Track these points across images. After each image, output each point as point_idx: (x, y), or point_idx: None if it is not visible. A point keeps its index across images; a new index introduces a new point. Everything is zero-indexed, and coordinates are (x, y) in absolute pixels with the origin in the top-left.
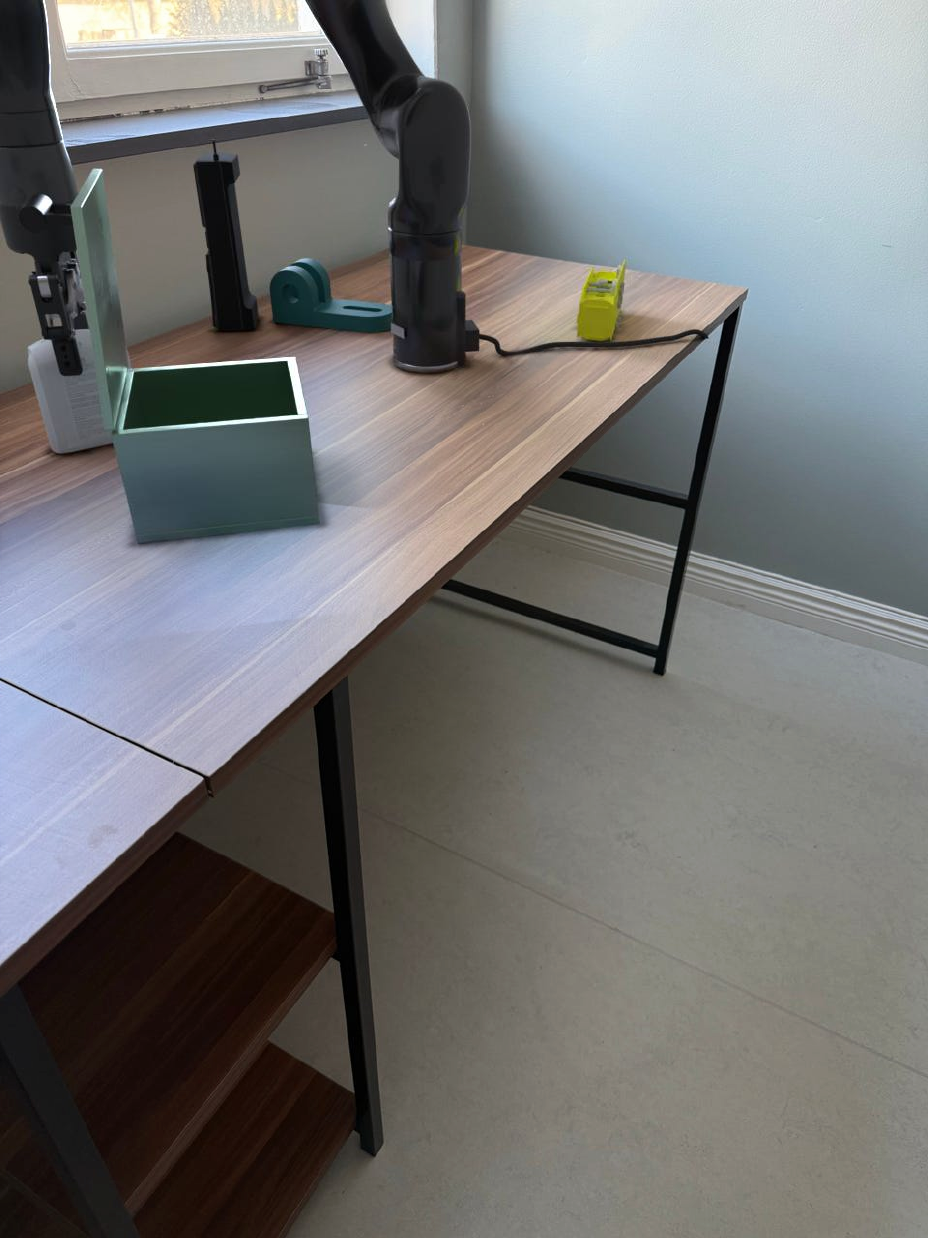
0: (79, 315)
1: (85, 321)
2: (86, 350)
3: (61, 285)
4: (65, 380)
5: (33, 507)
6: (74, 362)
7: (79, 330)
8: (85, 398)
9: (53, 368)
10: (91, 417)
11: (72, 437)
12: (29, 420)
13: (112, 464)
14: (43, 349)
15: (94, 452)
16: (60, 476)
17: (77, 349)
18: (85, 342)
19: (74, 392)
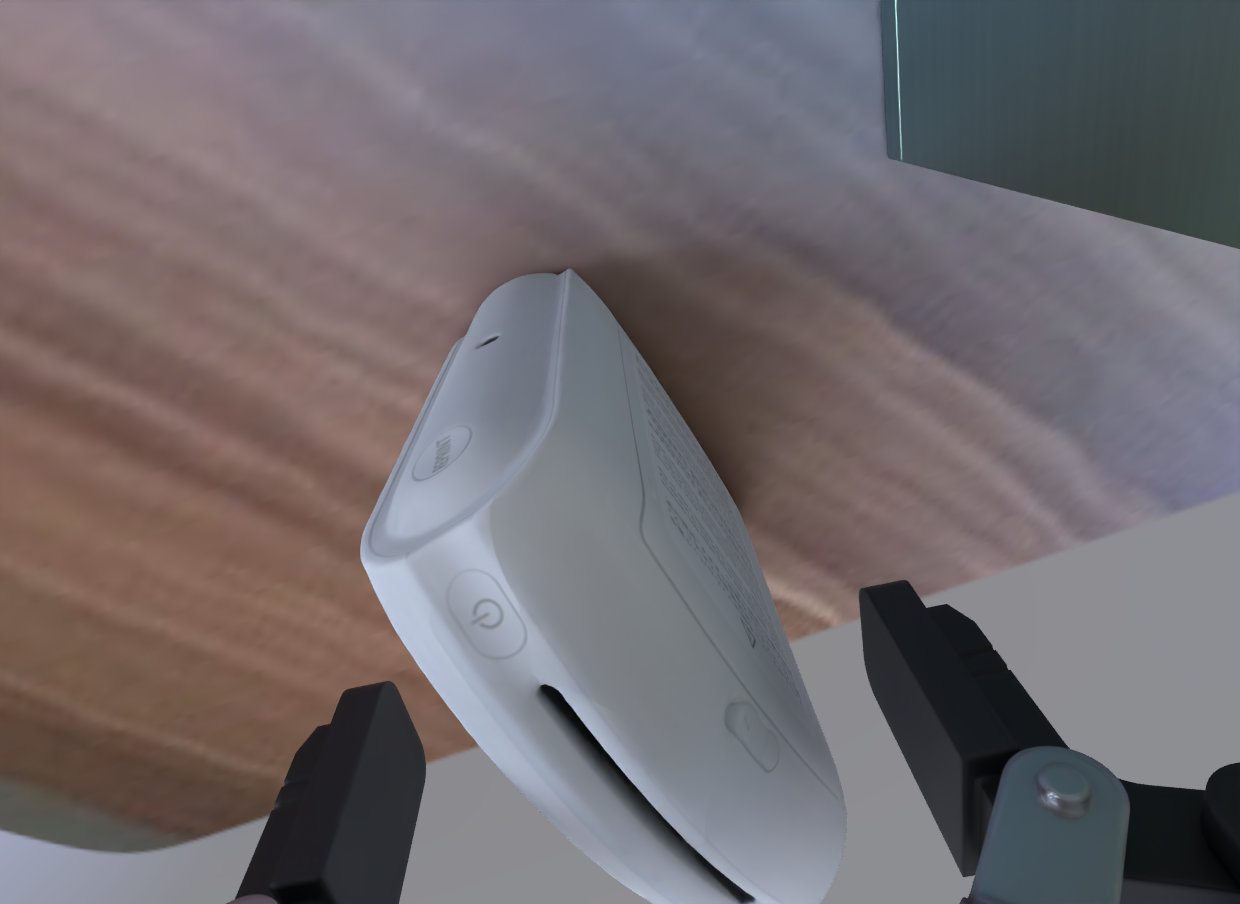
0: (341, 892)
1: (341, 822)
2: (737, 651)
3: None
4: (781, 650)
5: (1112, 477)
6: (990, 644)
7: (589, 793)
8: (723, 529)
9: (820, 736)
10: (705, 475)
11: (737, 512)
12: (433, 711)
13: (823, 322)
14: (818, 860)
15: (706, 422)
16: (897, 472)
17: (959, 684)
18: (710, 692)
19: (751, 584)
